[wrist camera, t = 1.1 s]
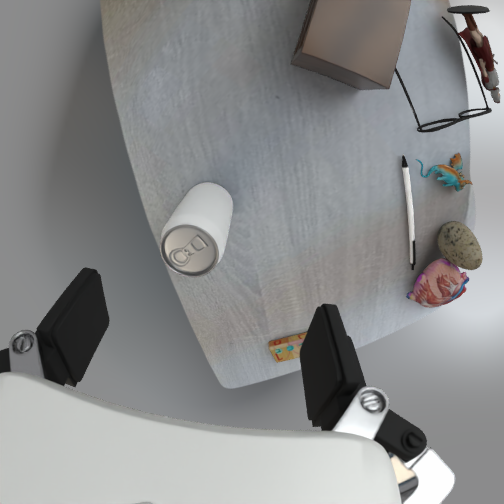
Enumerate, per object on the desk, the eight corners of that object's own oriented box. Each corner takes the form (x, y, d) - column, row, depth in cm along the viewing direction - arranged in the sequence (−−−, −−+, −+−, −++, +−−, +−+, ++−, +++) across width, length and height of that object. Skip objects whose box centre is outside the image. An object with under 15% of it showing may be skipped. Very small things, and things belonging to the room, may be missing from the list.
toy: (335, 331, 44) (339, 348, 47) (333, 323, 46) (337, 340, 48) (268, 349, 46) (276, 364, 49) (268, 341, 48) (276, 356, 51)
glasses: (409, 132, 29) (428, 134, 24) (361, 31, 24) (373, 18, 19) (476, 109, 25) (497, 110, 21) (436, 19, 20) (453, 10, 16)
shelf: (290, 64, 26) (300, 52, 19) (318, -22, 19) (333, -49, 12) (360, 90, 27) (389, 89, 20) (384, 5, 20) (413, -12, 13)
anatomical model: (391, 281, 43) (438, 311, 45) (397, 305, 39) (445, 332, 40) (432, 238, 37) (475, 276, 38) (444, 259, 32) (486, 297, 34)
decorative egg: (425, 243, 37) (457, 281, 29) (438, 210, 34) (476, 242, 26) (448, 249, 37) (480, 284, 29) (461, 218, 34) (498, 249, 26)
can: (174, 200, 35) (142, 246, 25) (212, 171, 33) (190, 206, 23) (206, 235, 37) (187, 291, 27) (243, 209, 35) (238, 259, 25)
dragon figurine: (423, 211, 34) (470, 205, 29) (420, 176, 28) (474, 170, 24) (415, 179, 37) (459, 173, 32) (410, 144, 31) (459, 138, 27)
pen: (409, 268, 40) (412, 272, 39) (398, 154, 30) (402, 156, 29) (413, 267, 39) (416, 270, 38) (404, 152, 30) (408, 154, 29)
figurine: (491, 6, 11) (516, 98, 19) (449, 5, 16) (479, 90, 25) (485, 12, 10) (511, 117, 19) (437, 12, 16) (469, 107, 25)
